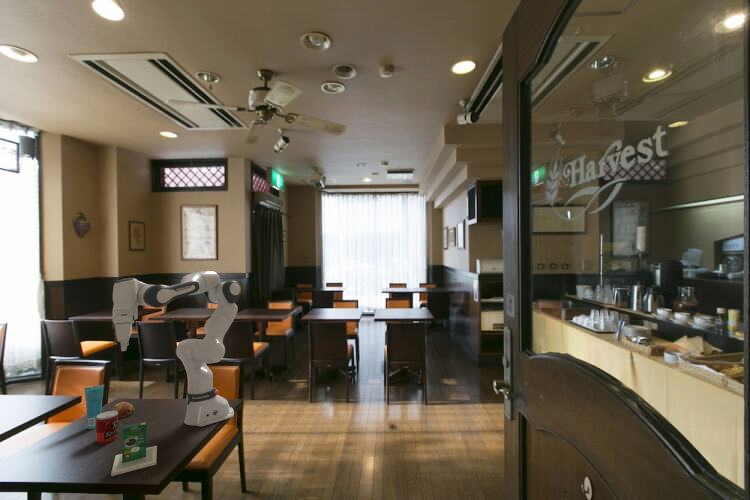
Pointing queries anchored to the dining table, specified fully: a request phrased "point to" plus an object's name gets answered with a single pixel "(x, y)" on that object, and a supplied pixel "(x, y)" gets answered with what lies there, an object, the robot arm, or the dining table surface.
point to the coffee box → (134, 441)
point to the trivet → (134, 462)
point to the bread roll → (123, 409)
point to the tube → (93, 404)
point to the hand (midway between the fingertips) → (125, 348)
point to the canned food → (106, 427)
